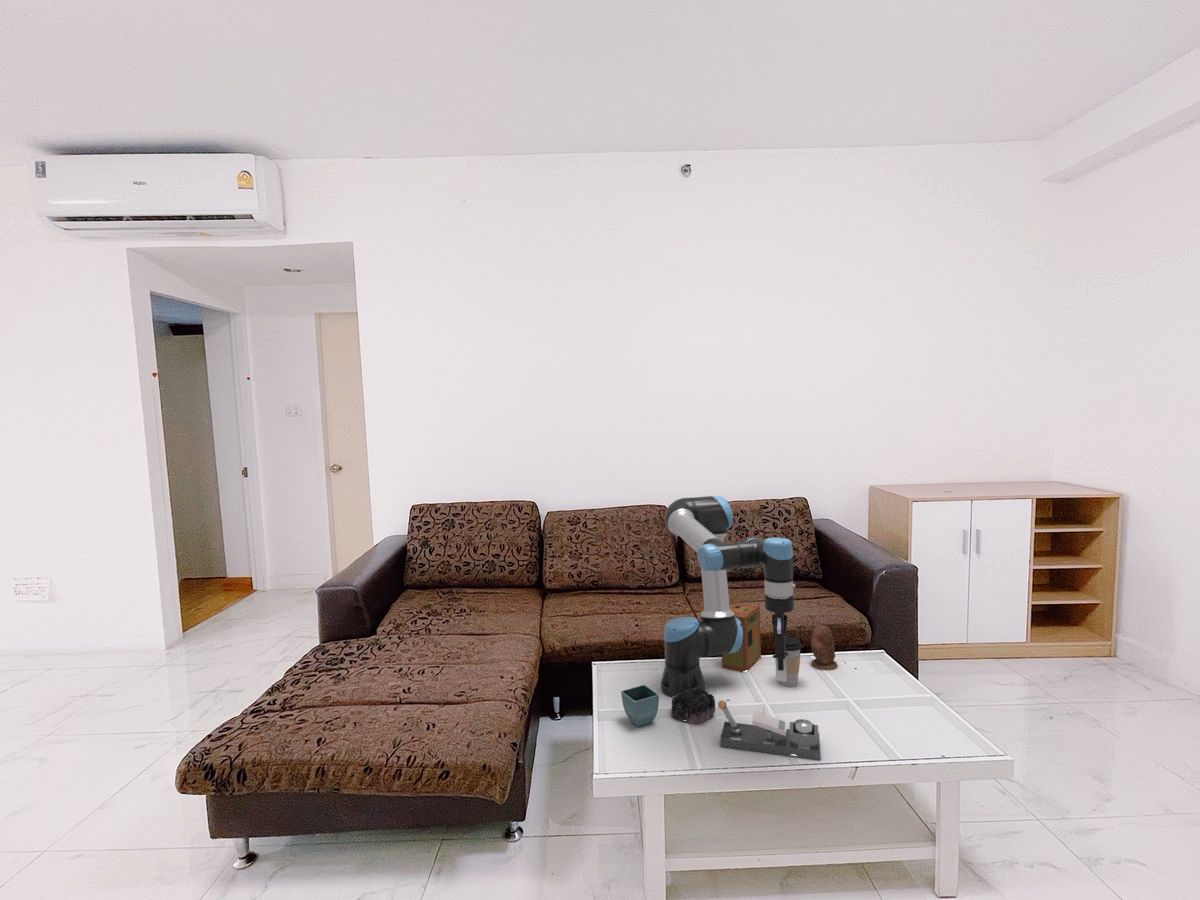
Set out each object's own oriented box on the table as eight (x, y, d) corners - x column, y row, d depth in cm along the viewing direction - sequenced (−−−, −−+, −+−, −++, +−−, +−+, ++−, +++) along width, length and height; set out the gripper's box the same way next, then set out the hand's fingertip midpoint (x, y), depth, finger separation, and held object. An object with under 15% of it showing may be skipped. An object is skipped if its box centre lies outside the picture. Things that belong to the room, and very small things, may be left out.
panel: (720, 746, 166) (719, 727, 166) (724, 729, 176) (724, 711, 176) (820, 760, 158) (819, 740, 158) (819, 741, 167) (818, 722, 167)
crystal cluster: (668, 707, 193) (665, 678, 192) (710, 702, 193) (707, 672, 192) (675, 731, 179) (671, 700, 178) (720, 725, 180) (716, 694, 179)
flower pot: (635, 731, 176) (634, 701, 176) (621, 719, 184) (620, 690, 184) (660, 724, 180) (660, 694, 180) (645, 712, 188) (644, 684, 188)
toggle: (730, 729, 169) (715, 704, 170) (731, 725, 171) (717, 700, 172) (738, 726, 168) (723, 701, 169) (738, 722, 171) (724, 697, 172)
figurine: (810, 671, 217) (806, 629, 217) (811, 661, 226) (806, 621, 227) (837, 671, 214) (833, 629, 214) (837, 662, 223) (832, 621, 223)
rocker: (751, 724, 165) (753, 719, 165) (753, 714, 171) (754, 710, 171) (785, 736, 163) (786, 731, 163) (785, 726, 168) (786, 721, 168)
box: (746, 673, 216) (744, 617, 215) (722, 668, 221) (720, 614, 220) (761, 657, 230) (759, 605, 229) (738, 653, 235) (736, 602, 234)
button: (795, 740, 162) (795, 725, 162) (795, 732, 167) (795, 718, 167) (812, 742, 161) (812, 727, 161) (812, 734, 165) (812, 720, 165)
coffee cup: (799, 677, 210) (798, 635, 210) (806, 689, 201) (804, 645, 200) (771, 677, 211) (770, 635, 211) (777, 689, 202) (775, 645, 201)
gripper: (793, 602, 157) (795, 691, 158) (793, 589, 170) (795, 672, 170) (763, 601, 160) (765, 688, 160) (766, 588, 172) (768, 669, 173)
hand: (781, 680), depth 165 cm, fingers closed
